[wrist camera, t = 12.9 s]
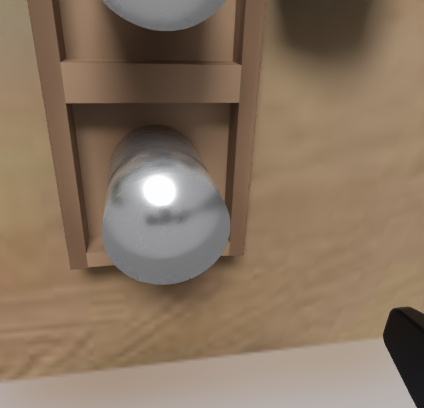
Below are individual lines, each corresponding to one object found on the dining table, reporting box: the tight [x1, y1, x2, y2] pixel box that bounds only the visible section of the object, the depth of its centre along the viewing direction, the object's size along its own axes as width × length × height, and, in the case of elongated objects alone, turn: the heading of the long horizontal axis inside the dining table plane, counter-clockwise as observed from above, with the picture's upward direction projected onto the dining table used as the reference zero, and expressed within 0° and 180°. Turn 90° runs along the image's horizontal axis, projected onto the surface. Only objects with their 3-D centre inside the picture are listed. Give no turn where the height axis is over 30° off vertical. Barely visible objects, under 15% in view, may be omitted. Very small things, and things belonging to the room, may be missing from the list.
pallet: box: [27, 0, 266, 270], centre depth 16 cm, size 9×18×2 cm, turn 178°
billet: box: [102, 125, 230, 285], centre depth 15 cm, size 4×4×6 cm
